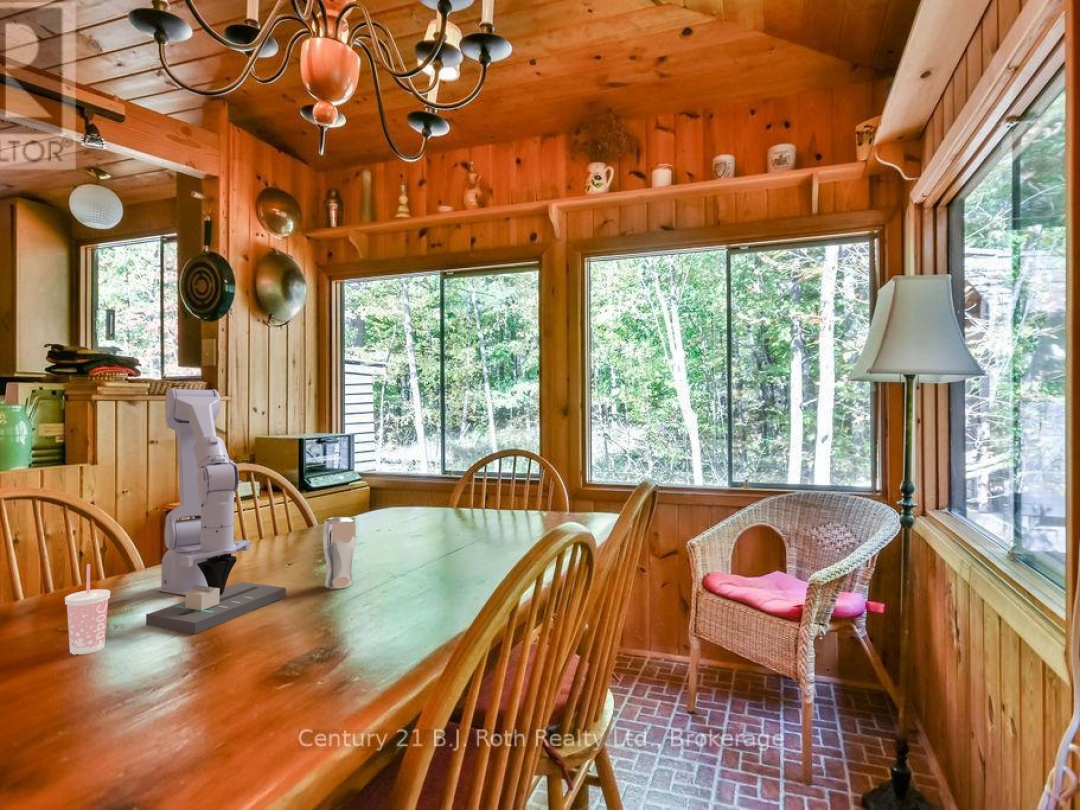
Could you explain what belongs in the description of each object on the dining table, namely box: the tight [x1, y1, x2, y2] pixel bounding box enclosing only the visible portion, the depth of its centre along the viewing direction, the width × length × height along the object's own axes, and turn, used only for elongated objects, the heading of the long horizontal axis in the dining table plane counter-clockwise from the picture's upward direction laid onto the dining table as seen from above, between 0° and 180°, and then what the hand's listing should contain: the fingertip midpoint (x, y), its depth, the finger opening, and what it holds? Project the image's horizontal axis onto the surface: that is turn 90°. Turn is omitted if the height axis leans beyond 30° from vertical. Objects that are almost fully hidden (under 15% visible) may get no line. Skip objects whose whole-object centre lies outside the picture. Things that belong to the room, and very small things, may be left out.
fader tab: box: [185, 585, 220, 610], centre depth 114 cm, size 4×4×4 cm
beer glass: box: [322, 516, 357, 590], centre depth 136 cm, size 7×7×15 cm
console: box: [145, 581, 287, 635], centre depth 118 cm, size 12×22×2 cm, turn 161°
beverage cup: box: [64, 563, 111, 655], centre depth 99 cm, size 6×6×14 cm
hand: (216, 594), depth 117 cm, fingers closed
